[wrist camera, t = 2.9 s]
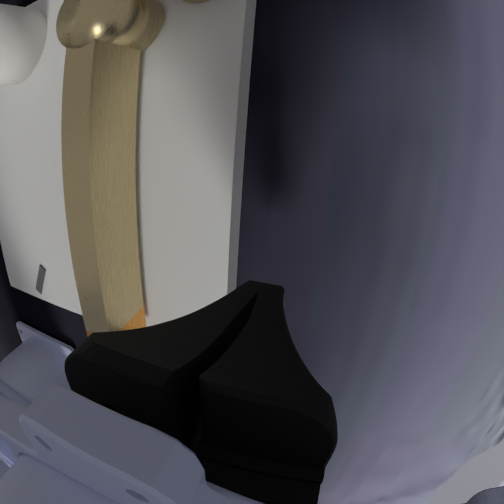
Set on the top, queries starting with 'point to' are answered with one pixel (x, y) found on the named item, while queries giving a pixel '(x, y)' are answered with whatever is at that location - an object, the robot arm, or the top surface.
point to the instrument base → (146, 154)
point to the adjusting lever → (104, 153)
